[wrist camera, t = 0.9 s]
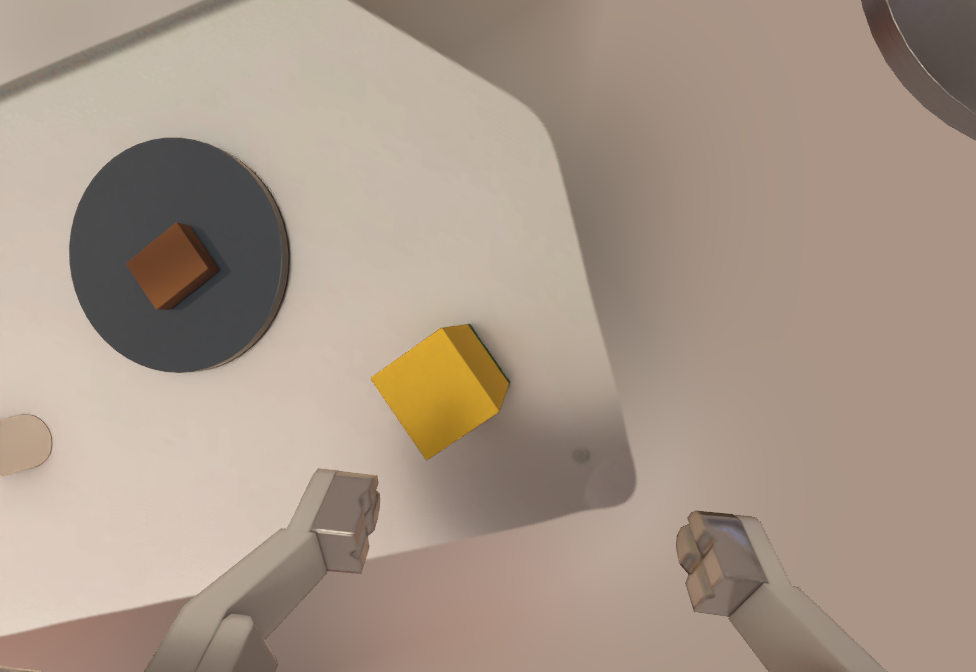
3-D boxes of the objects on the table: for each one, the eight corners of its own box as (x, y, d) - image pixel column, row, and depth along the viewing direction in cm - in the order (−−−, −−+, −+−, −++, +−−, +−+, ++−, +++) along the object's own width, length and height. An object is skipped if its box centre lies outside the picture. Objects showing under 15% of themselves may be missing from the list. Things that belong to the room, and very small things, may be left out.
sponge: (510, 382, 29) (499, 411, 21) (458, 417, 30) (426, 461, 21) (469, 323, 30) (441, 327, 21) (418, 359, 30) (369, 378, 21)
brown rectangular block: (220, 270, 30) (207, 268, 29) (170, 310, 31) (155, 310, 30) (189, 224, 30) (175, 221, 29) (140, 265, 31) (124, 263, 30)
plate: (155, 97, 31) (142, 90, 30) (334, 230, 30) (327, 227, 29) (45, 284, 33) (30, 283, 32) (211, 415, 32) (201, 418, 31)
